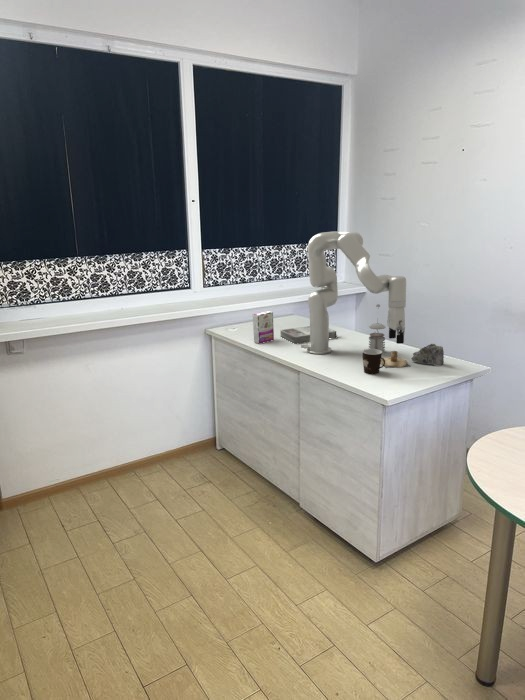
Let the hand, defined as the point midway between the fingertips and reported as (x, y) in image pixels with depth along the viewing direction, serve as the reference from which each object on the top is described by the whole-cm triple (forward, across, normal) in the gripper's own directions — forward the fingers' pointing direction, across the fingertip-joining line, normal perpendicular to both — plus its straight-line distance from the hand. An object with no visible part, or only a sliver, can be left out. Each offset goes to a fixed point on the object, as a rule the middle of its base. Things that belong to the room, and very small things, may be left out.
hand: (396, 340), depth 231 cm
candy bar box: (+10, -55, -56) cm, 79 cm away
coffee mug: (+12, +11, -15) cm, 22 cm away
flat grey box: (+11, -58, -30) cm, 66 cm away
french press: (+12, -20, -3) cm, 23 cm away
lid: (+11, -1, -1) cm, 11 cm away
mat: (+12, -1, -1) cm, 12 cm away
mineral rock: (+12, +1, +16) cm, 20 cm away
